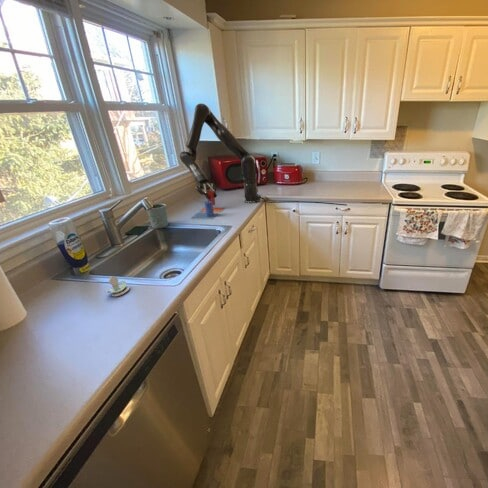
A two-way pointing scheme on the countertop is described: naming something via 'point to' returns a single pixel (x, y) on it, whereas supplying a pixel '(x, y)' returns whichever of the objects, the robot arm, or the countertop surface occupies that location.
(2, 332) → the countertop surface
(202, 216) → the blue mat
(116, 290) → the pacifier
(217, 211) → the terracotta mat
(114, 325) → the countertop surface
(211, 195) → the red upright cylinder
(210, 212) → the blue upright cylinder
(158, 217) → the grey-green cylindrical pot
